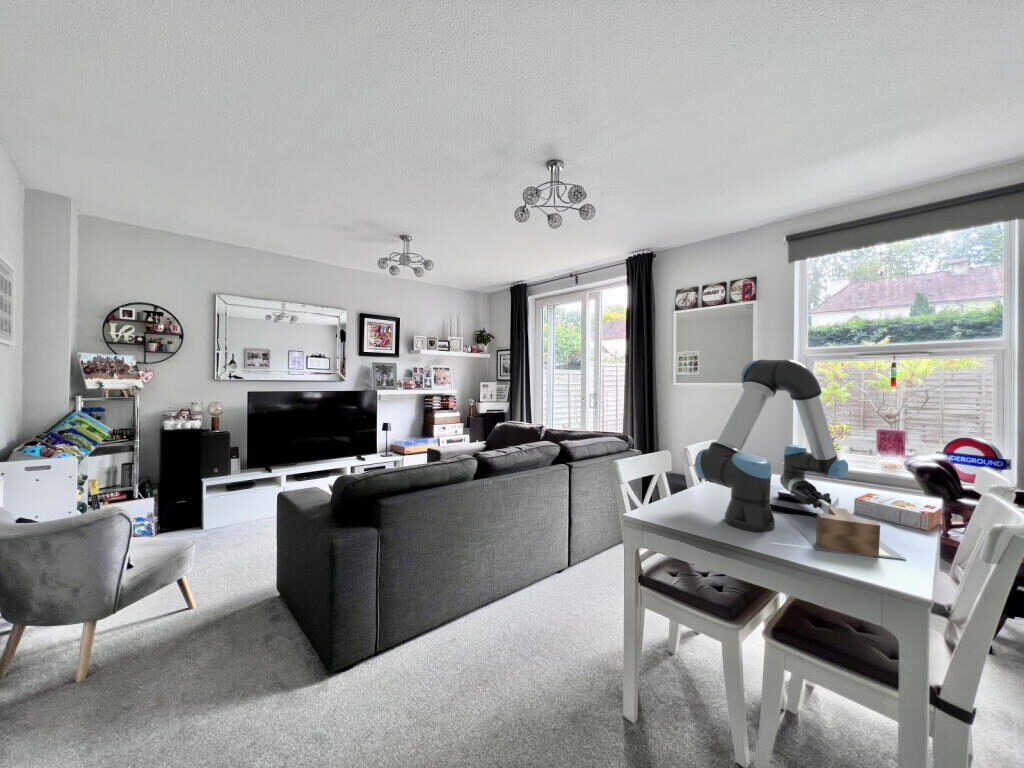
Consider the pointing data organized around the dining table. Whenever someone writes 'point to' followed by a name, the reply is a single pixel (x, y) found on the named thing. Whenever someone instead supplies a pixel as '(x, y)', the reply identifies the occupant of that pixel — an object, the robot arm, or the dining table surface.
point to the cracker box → (898, 511)
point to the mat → (808, 530)
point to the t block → (847, 532)
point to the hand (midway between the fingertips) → (828, 509)
